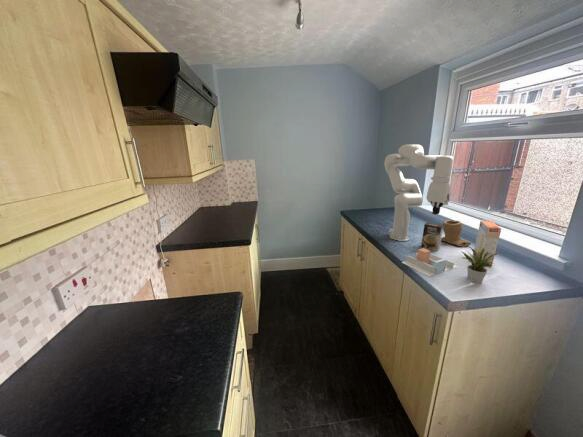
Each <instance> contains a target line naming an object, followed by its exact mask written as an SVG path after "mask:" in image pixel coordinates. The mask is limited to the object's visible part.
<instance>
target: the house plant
mask: <svg viewBox="0 0 583 437" xmlns="http://www.w3.org/2000/svg"><path fill="white" fill-rule="evenodd" d="M467 247H468V248H469V249H470V250H471V251H472V253H471V252H469V251H468V250H466V249H464V250H465V251H466V252H467V253H468V254H469V255H470V256H469V255H468V254H467V253H466V252H464V251H462V250H460V251H461V253H462V254H463V255H464V257H463V259H466V260H468V261H467V262H469V263H471V264H468V265H467V278H468V279H469V280H470V281H472V283H474V284H477V285H478V284H482V282H483V280H484V279H485V276H486V274H487V273H488V270H487V269H486V267H488V268H489V269H490V268H491V267H493V265H495V263H494V262H493V263H492V262H487V263H486V261H487V260H488V259H490V258H491V257H493V256H494V259H495V258H496V257H495V256H497V255H503V253H501V252H497V253H496V252H495V254H493V255H491V256H489V257H488V258H486V259H485V257H486V255H487V254H489V253H488V251H487V252H486V254H485V255H484V257H483V256H482V255H483V253H484V250H485V247H483V249H481V252H480V257H479V256H478V254H476V253H477V252H475V251H476V250H475V249H474V248H473V247H470V245H469V246H467ZM473 253H474V255H473ZM475 256H476V257H475ZM482 257H483V259H482ZM492 259H493V258H492ZM494 259H493V260H494ZM490 260H491V259H490ZM488 261H489V260H488ZM489 264H492V265H489Z"/></svg>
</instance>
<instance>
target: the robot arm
mask: <svg viewBox="0 0 583 437" xmlns="http://www.w3.org/2000/svg"><path fill="white" fill-rule="evenodd" d="M453 162H454V157H453V155H452V156H451V155H439V154H430V155H429V154H427V155H425V152H424V147H423V146H422V145H420V143H419V144H415V143H411V144H403V145H401V146H399V148H398V153H391V154H388V155H386V157H385V158H384V163H383V165H384V169H385V172H386V173H387V175H388V177H389V180H390V184H391V188H392V190H393V192H394V193H396V195H395V196H394V200H393V202H394V215H393V226H392V228H390V229H389V230H388V233H390V234H389V238H390V239H391V240H393V239H394V241H396V240H398V241H397V242H408V241H410V239H411V238H410V236H409V234H408V233H409V226H410V218H411V213H410V211H409V209H408V208H417V207H421V205H422V204H423V202H424V199H423V198H424V197H423V195H422V192H421V189H420V188H421V187H420V185H419V183H418V182H417V181H418V180H415V179H413V178H406V177H404V174H403V172H402V170H400V168H398V167H408V166H411V167H413V168H414V169H417V170H421V171H422V170H433V175H432V177H431V178H430V180H432V181H431V182H430V183H429V186H428V189H427V193H426V200H427V202H428V203H430V204H431V207H432V210H431V211H432V215H434V216H435V215H439V214H440V212H441V211H440V210H441V207H443V206H448V205H449V201H450V199H451V198H450V197H451V183H450V180H451V174H452V168H453Z"/></svg>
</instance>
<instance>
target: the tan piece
mask: <svg viewBox="0 0 583 437" xmlns="http://www.w3.org/2000/svg"><path fill="white" fill-rule="evenodd" d="M442 225H444V226H443V232H444V236H443V237H441V241H442V242H446V243H449V244H452V245H455V246H458V247H468V246H469V247H470V245H472V242H470V241H467V240H465V239H462V238H460V237H461V234H462V232H463V223H462V222H461V221H460V220H452V219H451V220H450V219H448V220H445V221H444V222H442Z"/></svg>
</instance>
